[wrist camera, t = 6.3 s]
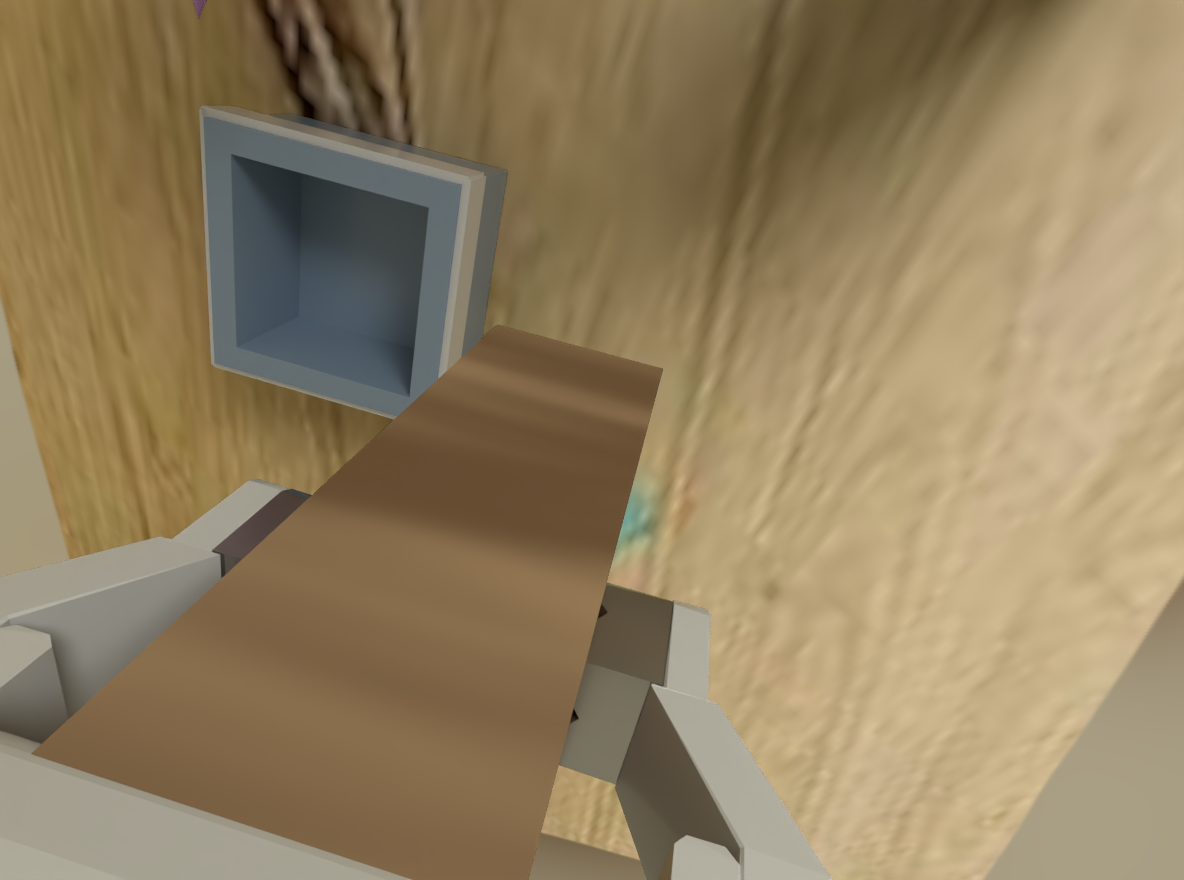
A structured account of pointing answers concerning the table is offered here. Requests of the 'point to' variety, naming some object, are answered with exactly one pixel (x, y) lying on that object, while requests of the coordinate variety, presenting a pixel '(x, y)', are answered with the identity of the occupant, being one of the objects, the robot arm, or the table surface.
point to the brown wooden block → (401, 629)
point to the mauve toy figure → (199, 6)
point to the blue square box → (342, 256)
